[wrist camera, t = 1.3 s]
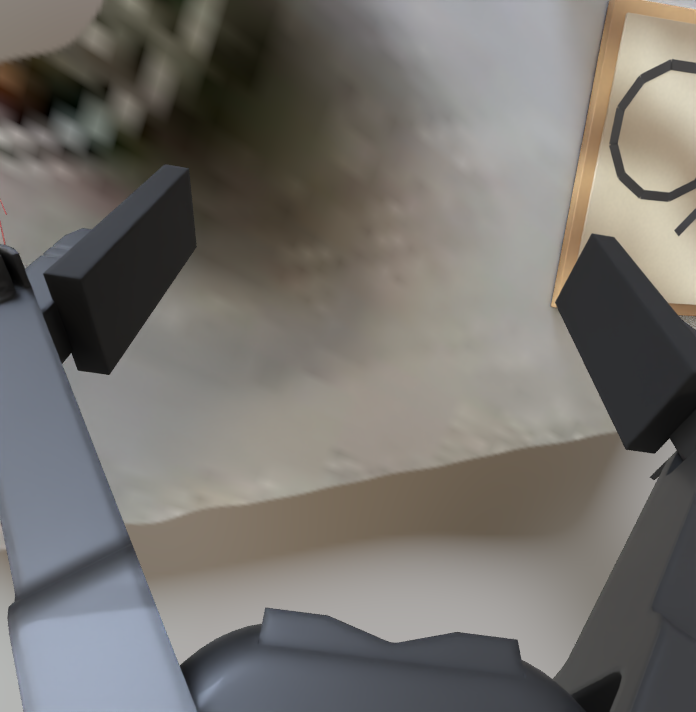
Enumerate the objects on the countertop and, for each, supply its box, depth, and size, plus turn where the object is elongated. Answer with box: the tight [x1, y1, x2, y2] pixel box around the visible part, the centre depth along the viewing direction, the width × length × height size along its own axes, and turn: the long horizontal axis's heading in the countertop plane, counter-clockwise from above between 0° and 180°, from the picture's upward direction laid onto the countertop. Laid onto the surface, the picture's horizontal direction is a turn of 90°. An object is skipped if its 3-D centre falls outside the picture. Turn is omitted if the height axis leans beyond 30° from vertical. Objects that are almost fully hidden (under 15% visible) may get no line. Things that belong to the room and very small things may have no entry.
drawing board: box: [551, 0, 696, 316], centre depth 36 cm, size 22×20×1 cm
